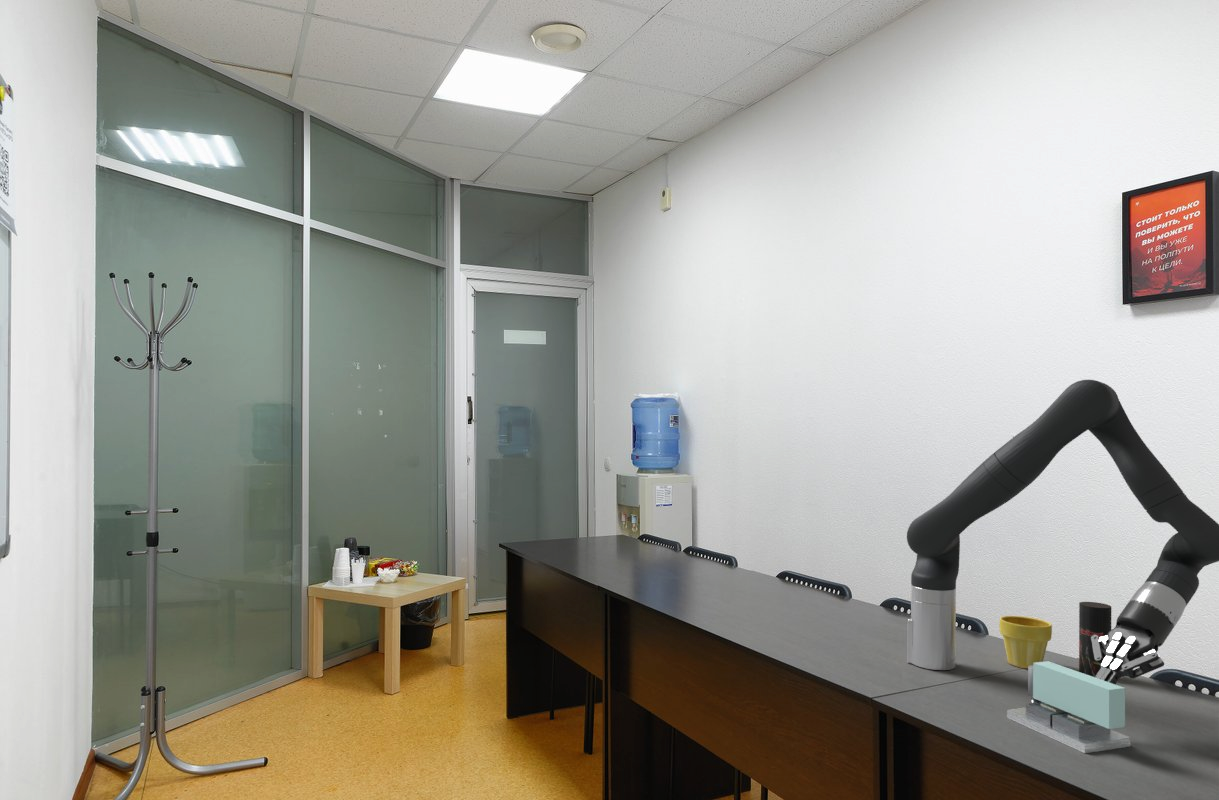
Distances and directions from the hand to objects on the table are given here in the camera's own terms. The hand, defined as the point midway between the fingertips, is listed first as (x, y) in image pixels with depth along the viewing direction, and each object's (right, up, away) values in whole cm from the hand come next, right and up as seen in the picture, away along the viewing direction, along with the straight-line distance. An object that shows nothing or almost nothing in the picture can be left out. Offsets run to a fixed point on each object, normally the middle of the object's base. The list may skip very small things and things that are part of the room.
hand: (1099, 688), depth 138 cm
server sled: (-5, -8, +1) cm, 9 cm away
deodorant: (+20, -9, +33) cm, 40 cm away
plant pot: (+8, -9, +40) cm, 42 cm away
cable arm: (-5, -4, 0) cm, 6 cm away
